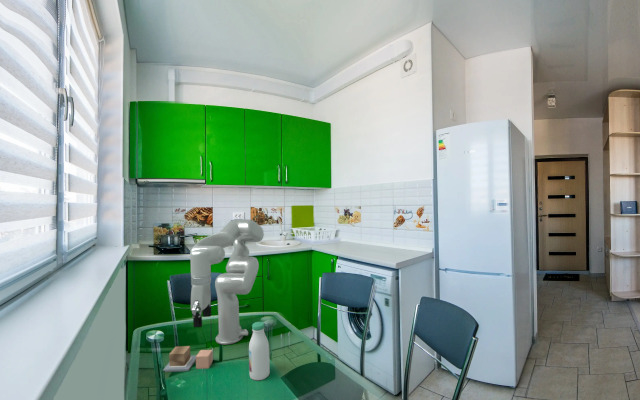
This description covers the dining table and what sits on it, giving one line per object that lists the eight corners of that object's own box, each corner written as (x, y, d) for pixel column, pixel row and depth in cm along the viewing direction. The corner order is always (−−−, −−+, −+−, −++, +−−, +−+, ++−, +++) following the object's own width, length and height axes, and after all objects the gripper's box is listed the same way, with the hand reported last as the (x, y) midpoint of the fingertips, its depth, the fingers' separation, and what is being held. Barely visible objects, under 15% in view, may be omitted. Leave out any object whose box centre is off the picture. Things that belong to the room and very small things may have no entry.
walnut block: (190, 357, 129) (190, 346, 129) (184, 365, 123) (184, 353, 123) (176, 358, 129) (175, 346, 129) (169, 366, 123) (169, 354, 123)
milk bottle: (273, 370, 120) (272, 320, 119) (263, 382, 112) (262, 329, 112) (256, 367, 122) (254, 318, 122) (245, 378, 115) (243, 326, 114)
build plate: (198, 357, 131) (197, 355, 131) (188, 370, 121) (188, 368, 121) (174, 357, 131) (174, 355, 131) (163, 371, 121) (162, 369, 121)
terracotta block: (212, 361, 127) (212, 349, 127) (208, 368, 122) (208, 356, 122) (200, 361, 127) (200, 350, 127) (196, 368, 122) (195, 356, 122)
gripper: (200, 274, 132) (201, 313, 133) (182, 286, 115) (184, 331, 116) (217, 273, 132) (218, 312, 133) (202, 286, 115) (203, 331, 116)
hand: (202, 321), depth 124 cm, fingers open, 9 cm apart
